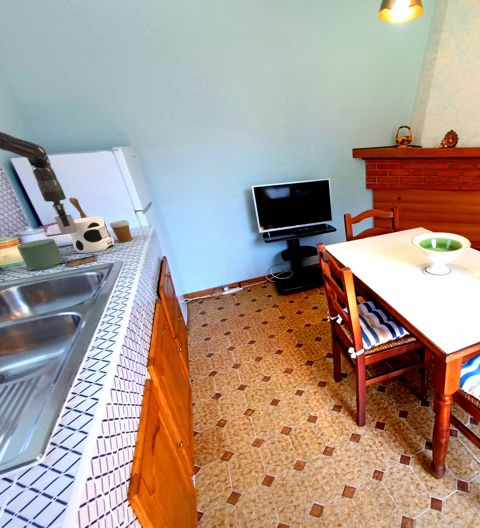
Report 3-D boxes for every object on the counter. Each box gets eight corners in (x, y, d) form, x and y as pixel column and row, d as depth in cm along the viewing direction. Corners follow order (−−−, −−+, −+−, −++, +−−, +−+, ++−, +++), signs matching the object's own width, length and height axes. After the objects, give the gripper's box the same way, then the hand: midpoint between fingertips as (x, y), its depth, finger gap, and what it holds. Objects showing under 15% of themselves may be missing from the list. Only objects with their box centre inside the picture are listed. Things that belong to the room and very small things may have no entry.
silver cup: (62, 234, 142) (54, 218, 139) (61, 232, 146) (54, 216, 143) (78, 231, 146) (71, 215, 143) (77, 230, 150) (70, 214, 147)
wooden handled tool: (89, 247, 175) (69, 199, 165) (86, 241, 188) (67, 196, 178) (103, 244, 180) (85, 197, 169) (99, 238, 193) (82, 195, 182)
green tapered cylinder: (27, 273, 140) (14, 249, 135) (27, 266, 149) (16, 244, 144) (66, 264, 149) (56, 241, 144) (64, 258, 158) (54, 237, 153)
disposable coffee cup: (114, 244, 178) (106, 225, 174) (118, 240, 186) (112, 221, 182) (132, 242, 181) (125, 222, 177) (136, 237, 190) (130, 219, 185)
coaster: (68, 267, 145) (68, 266, 144) (67, 262, 152) (66, 261, 152) (97, 260, 152) (96, 259, 151) (94, 256, 159) (93, 255, 159)
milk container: (77, 251, 168) (63, 220, 162) (114, 244, 179) (103, 214, 172) (77, 259, 156) (63, 225, 149) (117, 250, 166) (105, 218, 160)
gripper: (40, 190, 141) (55, 225, 147) (40, 192, 131) (57, 229, 137) (61, 188, 145) (75, 221, 152) (63, 189, 136) (78, 225, 142)
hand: (66, 225), depth 145 cm, fingers closed on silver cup, 6 cm apart
